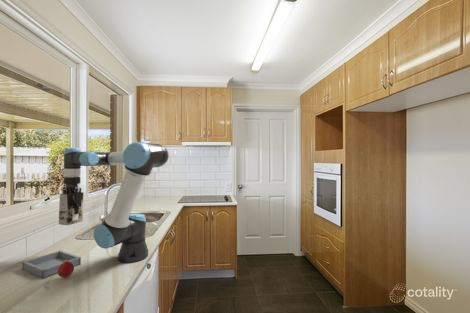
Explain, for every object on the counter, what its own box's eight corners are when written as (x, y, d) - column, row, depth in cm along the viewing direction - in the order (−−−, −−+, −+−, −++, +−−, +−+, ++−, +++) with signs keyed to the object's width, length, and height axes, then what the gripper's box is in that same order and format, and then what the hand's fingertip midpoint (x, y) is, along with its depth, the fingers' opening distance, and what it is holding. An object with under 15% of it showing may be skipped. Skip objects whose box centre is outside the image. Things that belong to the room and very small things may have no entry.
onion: (71, 273, 108) (71, 256, 108) (75, 277, 104) (76, 259, 104) (55, 278, 103) (56, 260, 103) (59, 283, 100) (60, 264, 100)
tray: (80, 264, 117) (80, 257, 117) (42, 278, 103) (43, 270, 103) (60, 257, 125) (60, 250, 125) (22, 269, 111) (22, 262, 111)
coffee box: (68, 225, 122) (68, 194, 122) (58, 224, 123) (58, 193, 123) (83, 221, 130) (84, 192, 131) (74, 220, 132) (74, 191, 132)
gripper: (90, 177, 125) (89, 220, 125) (69, 175, 135) (68, 215, 135) (74, 177, 119) (73, 223, 119) (54, 176, 129) (53, 218, 128)
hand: (71, 219), depth 127 cm, fingers closed on coffee box, 7 cm apart
